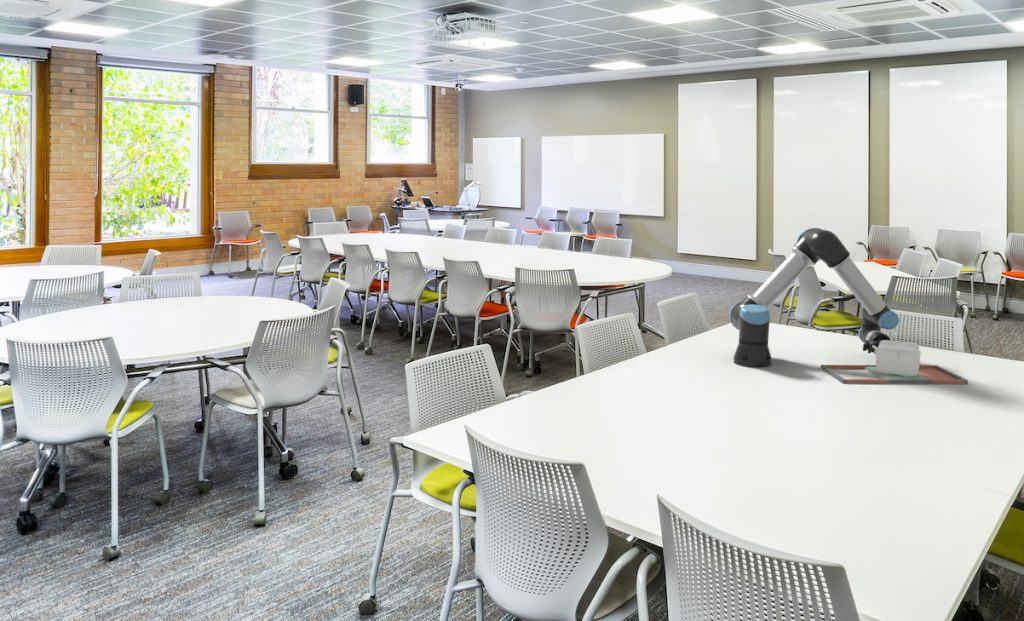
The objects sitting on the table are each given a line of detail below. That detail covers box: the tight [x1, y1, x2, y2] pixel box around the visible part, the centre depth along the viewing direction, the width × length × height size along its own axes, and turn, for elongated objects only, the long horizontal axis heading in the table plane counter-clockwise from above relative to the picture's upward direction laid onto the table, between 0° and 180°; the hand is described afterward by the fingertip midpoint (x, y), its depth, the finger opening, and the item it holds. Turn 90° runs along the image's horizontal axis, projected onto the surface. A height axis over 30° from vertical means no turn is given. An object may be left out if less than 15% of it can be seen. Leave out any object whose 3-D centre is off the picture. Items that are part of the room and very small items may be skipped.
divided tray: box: [820, 364, 969, 385], centre depth 306 cm, size 46×23×1 cm, turn 89°
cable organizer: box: [875, 340, 921, 377], centre depth 305 cm, size 15×11×12 cm
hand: (896, 352), depth 307 cm, fingers open, 13 cm apart
